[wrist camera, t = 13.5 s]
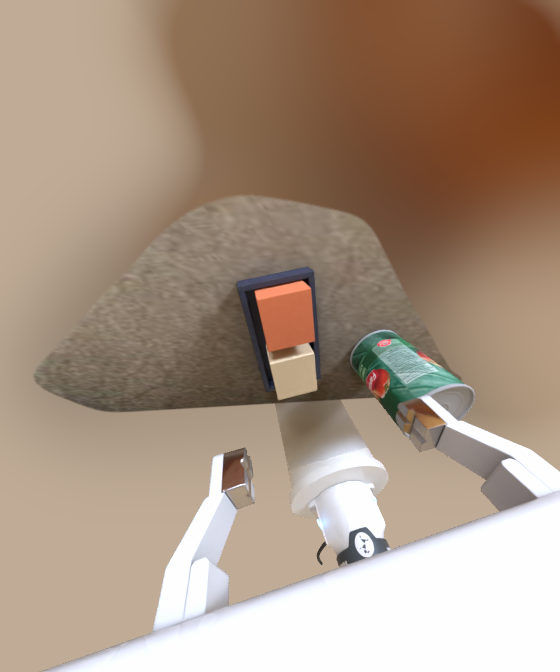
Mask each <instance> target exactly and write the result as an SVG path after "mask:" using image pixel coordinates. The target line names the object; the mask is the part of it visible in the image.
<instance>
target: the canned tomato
mask: <svg viewBox="0 0 560 672" xmlns="http://www.w3.org/2000/svg"><path fill="white" fill-rule="evenodd" d="M350 363H351V366H352V368H353V369H354V370H355V371H356V373H357V374H358V375H359V377H360V378H361V379H362V381H363V382H364V383H365V384H366V386H367V387H368V388H369V390H370V391H371V392H372V394H373V395H374V396H375V397H376V399H377V400H378V401H379V402H380V404H381V405H382V406H383V408H384V409H386V411H387V413H388V414H389V415H390V416H391V418H392V419H393V420H394V422H395V423H396V424H397V425H398V423H397V421H396V413H397V412H398V411H399V409H398V408H397V407H398V404H399V403H401V402H404V401H408V400H411V399H414V398H418V397H421V396H425V395H428V396H430V397H431V398H432V399H434V400H435V401H436V402H437V403H438V404H439V405H440V406H442V407H443V408H444V409H445V410H446V411H447V412H448V413H449V414H451V415H452V416H453V417H454V418H455V419H456V420H457V421H459V420H461V418H463V417H464V416H465V415H466V414H467V413H468V411H469V410H470V409H471V407H472V406H473V403H474V401H475V392H474V390H473V389H472V388H471V387H469V386H467V385H465V384H464V383H463V382H461V381H460V380H459V379H457V378H456V377H455V376H454V375H452V374H450V373H449V372H448V371H447V370H445V369H443V368H442V367H441V366H440V365H438V364H437V363H436V362H434V361H433V360H431V359H430V358H429V357H427V356H426V355H425V354H423V353H422V352H420V351H419V350H418V349H416V348H415V347H414V346H412V345H410V344H409V343H408V342H406V341H405V340H404V339H402V338H401V337H399V336H398V335H397V334H396V333H394V332H393V331H390V330H378V331H375V332H372V333H370V334H368V335H367V336H365V337H364V338H362V339H361V340H360V341H359V342H358V343H357V344H356V346H355V347H354V349H353V351H352V353H351V357H350ZM398 426H399V425H398ZM399 428H400V427H399ZM400 429H401V428H400ZM401 431H402V429H401ZM402 432H403V431H402ZM403 434H404V435H405V436H407V437H409V434H407V433H405V432H403Z"/></svg>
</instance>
